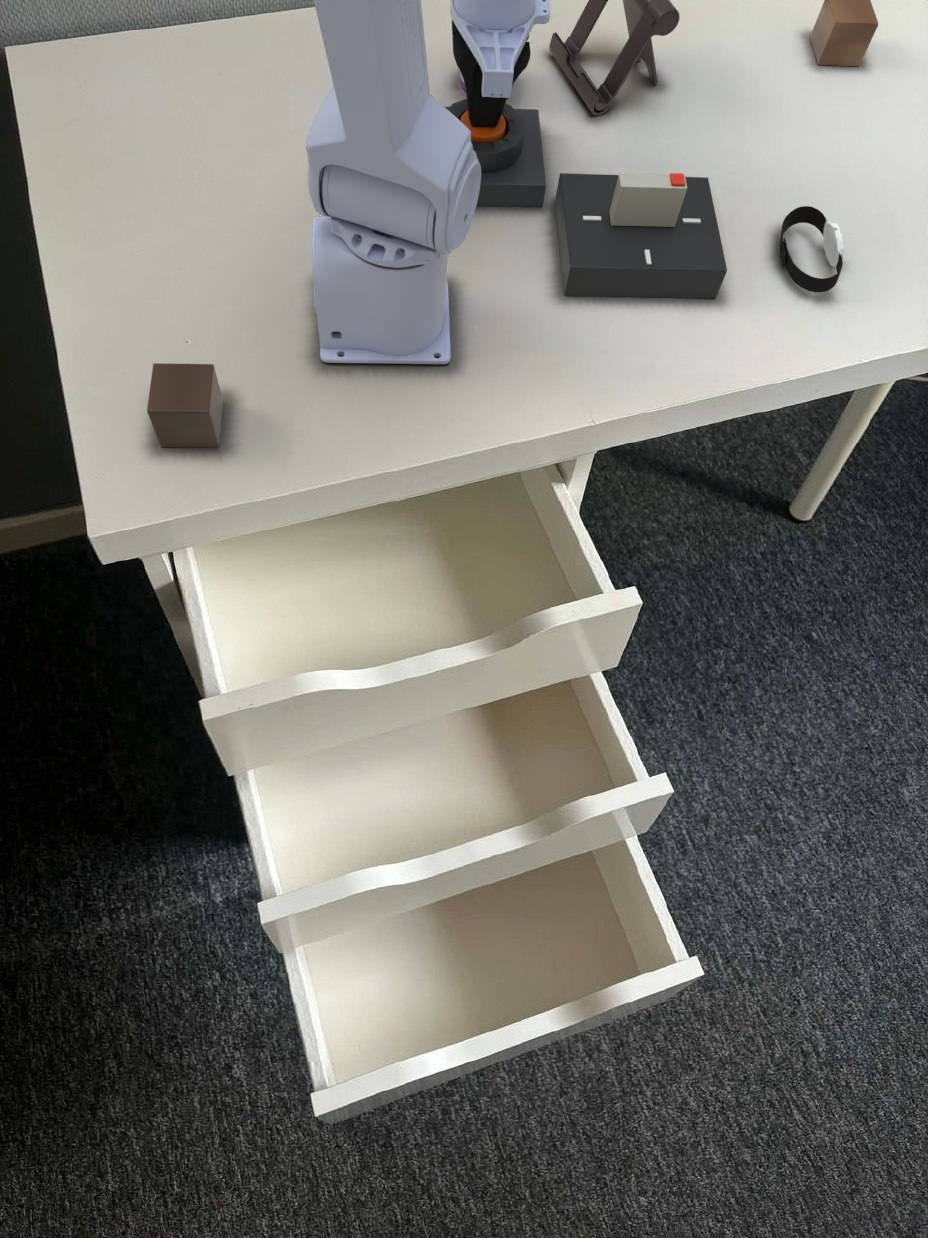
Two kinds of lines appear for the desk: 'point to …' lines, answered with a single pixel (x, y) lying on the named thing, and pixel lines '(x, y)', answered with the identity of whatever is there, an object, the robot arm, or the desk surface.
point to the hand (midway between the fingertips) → (483, 121)
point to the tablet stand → (644, 20)
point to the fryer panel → (636, 244)
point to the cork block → (843, 32)
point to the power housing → (511, 160)
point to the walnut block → (185, 405)
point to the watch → (831, 245)
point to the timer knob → (647, 199)
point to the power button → (485, 130)
